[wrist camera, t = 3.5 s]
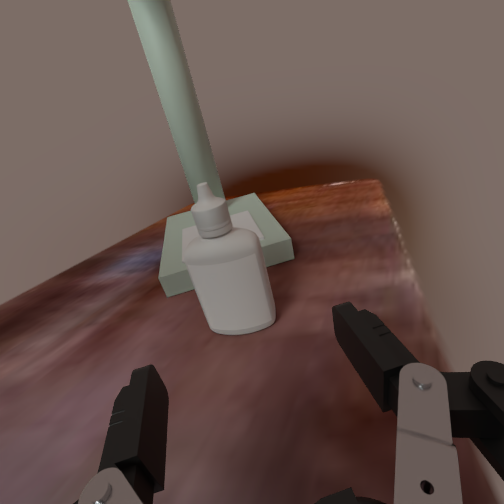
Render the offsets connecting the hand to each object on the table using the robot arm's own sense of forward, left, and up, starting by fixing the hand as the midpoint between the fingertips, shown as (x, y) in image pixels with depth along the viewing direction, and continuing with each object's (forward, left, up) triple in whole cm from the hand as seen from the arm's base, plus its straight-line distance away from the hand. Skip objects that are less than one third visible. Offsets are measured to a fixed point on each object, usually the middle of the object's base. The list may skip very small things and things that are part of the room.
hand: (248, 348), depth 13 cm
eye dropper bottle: (-4, +9, -7) cm, 12 cm away
